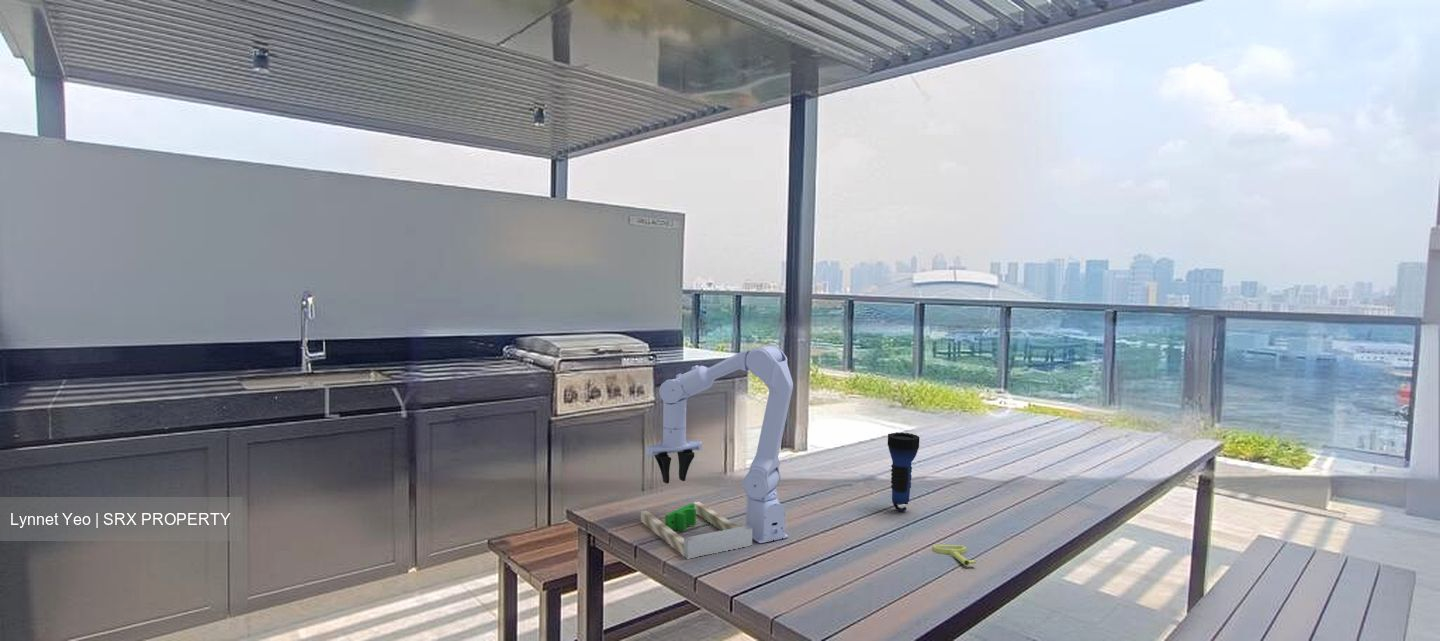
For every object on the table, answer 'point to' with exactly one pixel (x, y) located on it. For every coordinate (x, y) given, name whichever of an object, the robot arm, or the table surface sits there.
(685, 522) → the pipe clamp
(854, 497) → the table surface
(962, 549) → the key
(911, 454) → the flashlight
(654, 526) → the guide rails
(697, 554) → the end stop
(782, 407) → the robot arm
